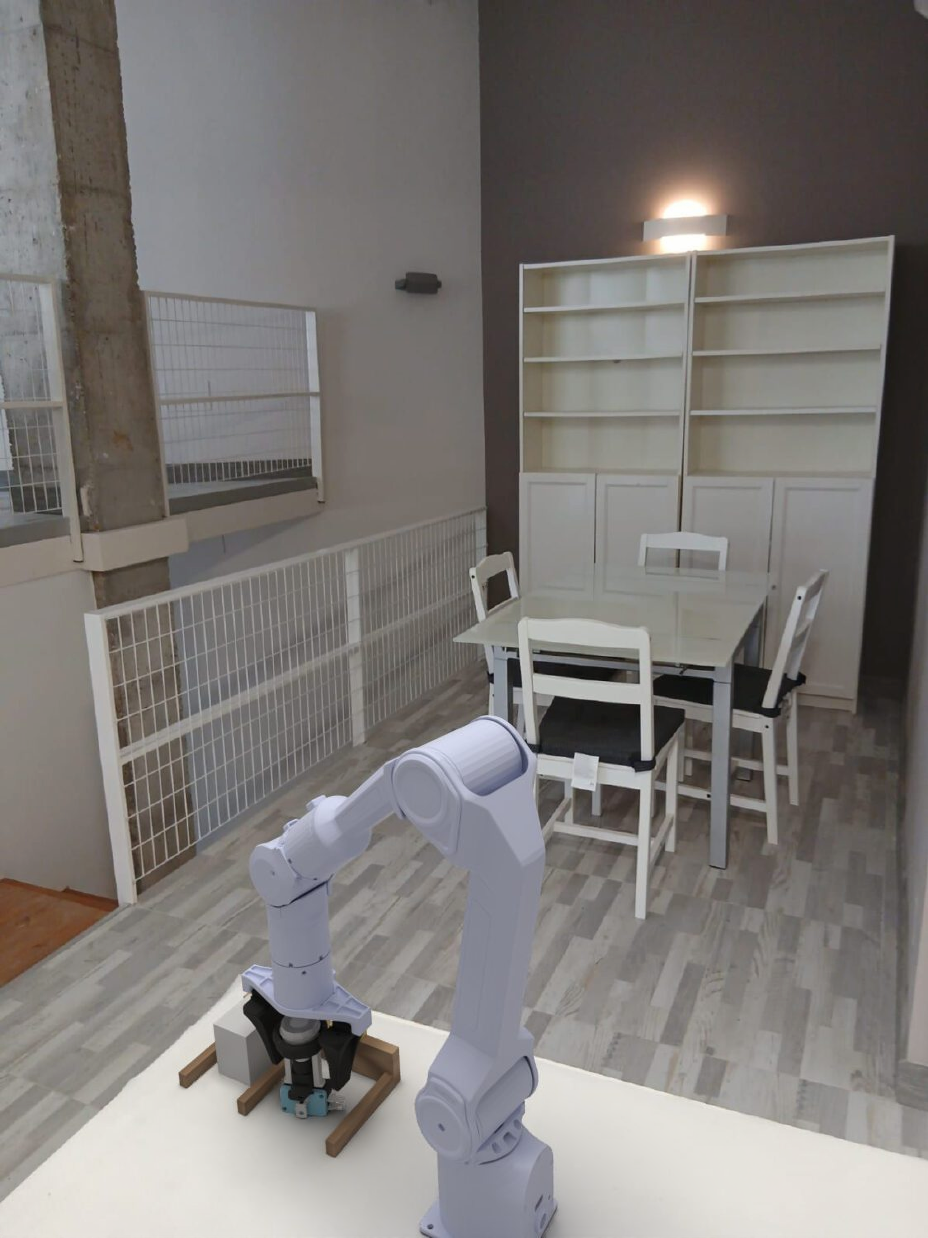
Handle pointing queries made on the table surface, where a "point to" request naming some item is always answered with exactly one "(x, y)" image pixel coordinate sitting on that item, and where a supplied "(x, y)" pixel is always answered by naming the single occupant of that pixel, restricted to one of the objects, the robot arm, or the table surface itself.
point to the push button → (304, 1068)
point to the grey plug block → (240, 1046)
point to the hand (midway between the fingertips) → (310, 1071)
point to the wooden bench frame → (369, 1059)
